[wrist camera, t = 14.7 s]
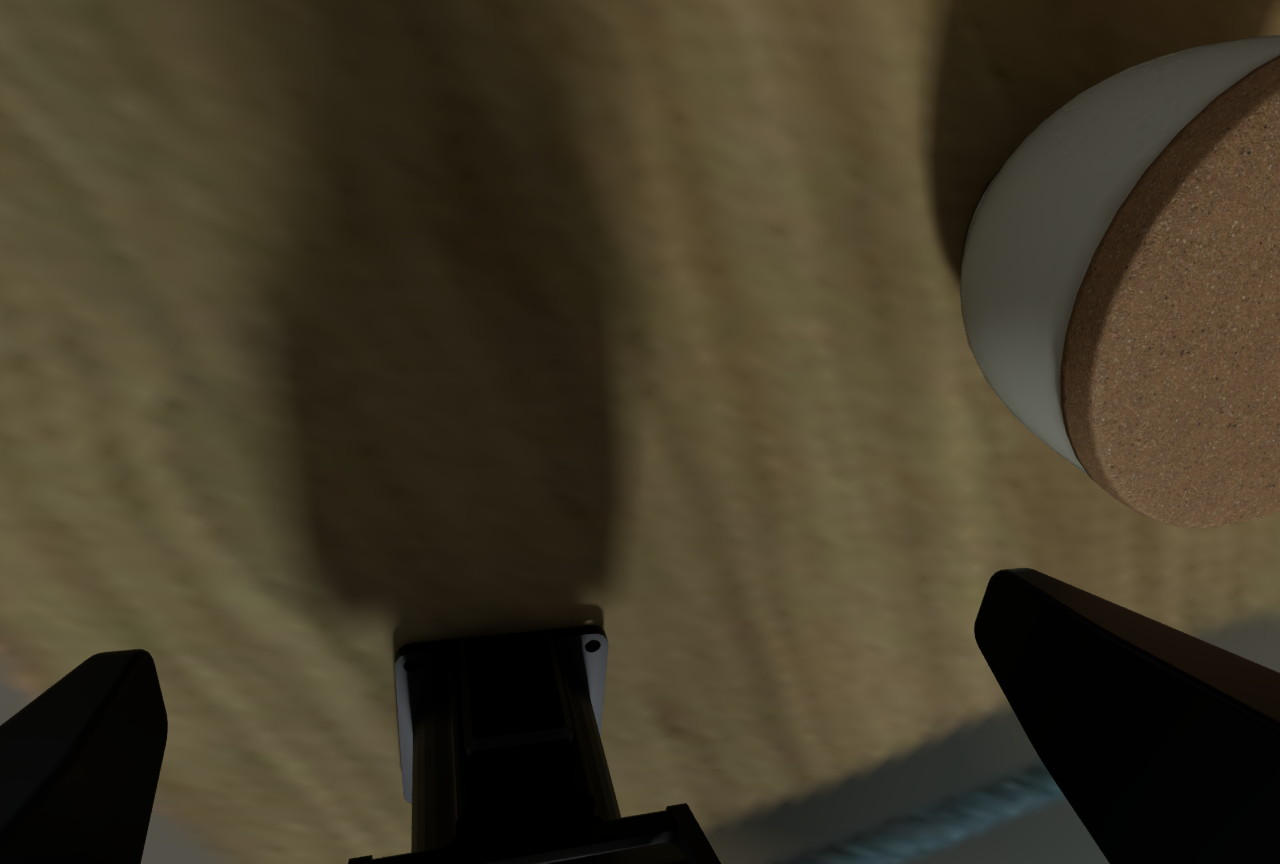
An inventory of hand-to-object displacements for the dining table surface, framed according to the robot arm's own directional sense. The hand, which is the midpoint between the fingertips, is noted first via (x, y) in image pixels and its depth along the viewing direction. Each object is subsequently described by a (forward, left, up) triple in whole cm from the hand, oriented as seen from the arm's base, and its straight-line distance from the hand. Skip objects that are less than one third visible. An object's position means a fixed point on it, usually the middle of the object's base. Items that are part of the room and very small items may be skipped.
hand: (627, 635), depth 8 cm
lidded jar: (+2, -16, -13) cm, 21 cm away
